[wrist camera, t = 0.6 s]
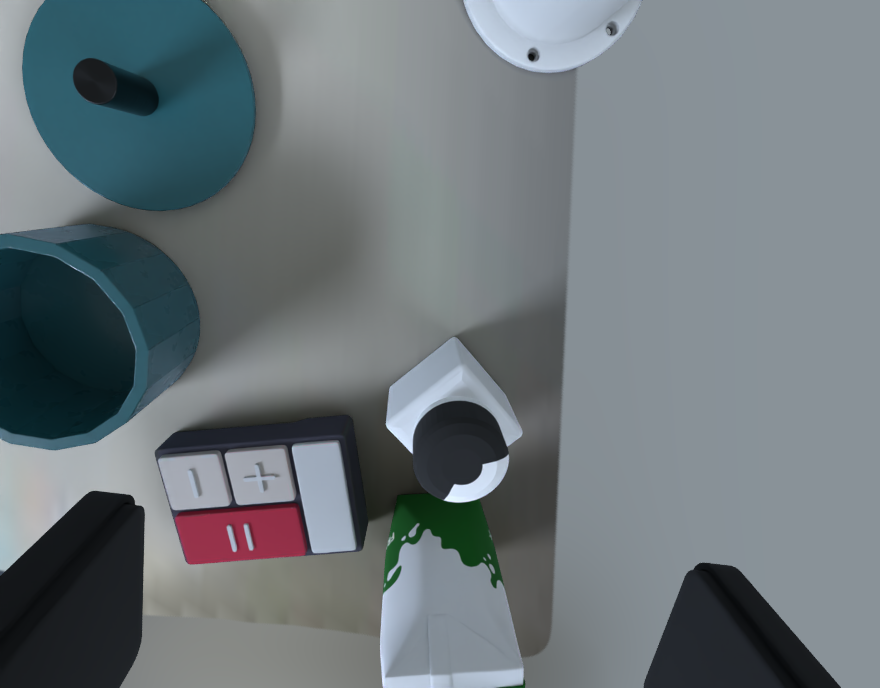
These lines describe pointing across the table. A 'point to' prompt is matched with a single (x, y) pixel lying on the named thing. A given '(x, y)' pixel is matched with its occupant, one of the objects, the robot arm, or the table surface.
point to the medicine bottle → (453, 424)
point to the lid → (140, 98)
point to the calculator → (265, 490)
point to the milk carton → (445, 601)
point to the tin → (87, 332)
